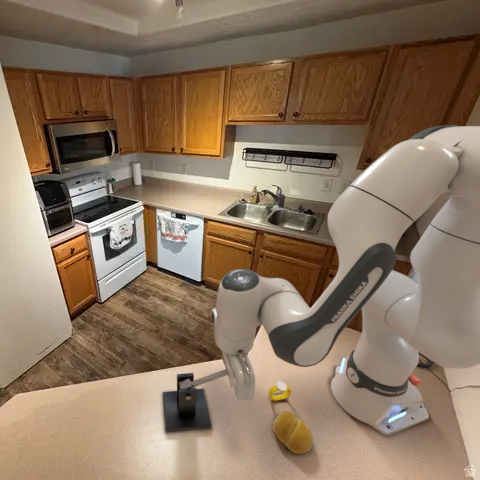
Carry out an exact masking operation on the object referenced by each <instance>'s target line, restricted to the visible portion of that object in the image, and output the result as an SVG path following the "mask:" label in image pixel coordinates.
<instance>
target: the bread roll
mask: <svg viewBox="0 0 480 480" xmlns="http://www.w3.org/2000/svg"><path fill="white" fill-rule="evenodd" d="M271 426H272V429H273V431H274V434H275V436H276V437H277V439H278V440H279V441H280V442H281V443H282V444H284V445H285V446H286V448H288V449H289V451H291V452H292V453H294V454H305V453H308V452H310V451H311V449H312V446H313V443H314V442H313V441H314V440H313V435H312V432H311V430H310V428H309V426H308V425H307V424H306V423H305V422H304V420H302V419H300V418H299V417H297V416H296V414H294V413H293V412H291V411H282V412H280V413H278V415H277V416H276V418H275V419H274V420H273V422H272V424H271Z"/></svg>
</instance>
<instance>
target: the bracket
mask: <svg viewBox="0 0 480 480" xmlns="http://www.w3.org/2000/svg"><path fill="white" fill-rule="evenodd" d="M186 379H190V381H191V382H192V381H194V380H195V375H194V372H188V373H177V374H176V390H169V391H163V392H162V397H163V409H164V410H163V411H164V422H165V423H164V424H165V433H174V432H183V431H196V430H204V429H205V430H206V429H212V421H211V416H210V413H209V408H208V403H207V399H206V395H205V390H204V388H197V387H193V388H185V389H180V384H179V382H181V381H184V380H186Z"/></svg>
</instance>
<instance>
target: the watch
mask: <svg viewBox="0 0 480 480" xmlns="http://www.w3.org/2000/svg"><path fill="white" fill-rule="evenodd" d="M277 392H280V394H276V395H274V394H275V393H277ZM291 394H292V389H291V388H290V386H289V385H288V384H286V383H285V382H283V381H281V380H278V381H276V383H275V385H273V386H271V387H270V389H269V390H268V396H269V398H270V399H271V400H272V401H274V402H277V401H283V400H286V399H287V398H289V397H290V396H291Z"/></svg>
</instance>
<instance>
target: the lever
mask: <svg viewBox="0 0 480 480" xmlns="http://www.w3.org/2000/svg"><path fill="white" fill-rule="evenodd" d="M223 364H224V367H225V368H224V369H222V370H220V371H217V372H213V373H211V374H209V375H205V376H202V377H200V378H197V379H194V381H192V382H191V381H190V379H186V380H184V381H181V382H179V384H180V389H185V388H197V387H199V386H202V385H204V384H208V383H209V382H213V381H215V380H218V379H221V378H224V377H226V376H228V381H229V380H230V377H229V374H228V371H227V367H226V364H225V362H224V363H223Z"/></svg>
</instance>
